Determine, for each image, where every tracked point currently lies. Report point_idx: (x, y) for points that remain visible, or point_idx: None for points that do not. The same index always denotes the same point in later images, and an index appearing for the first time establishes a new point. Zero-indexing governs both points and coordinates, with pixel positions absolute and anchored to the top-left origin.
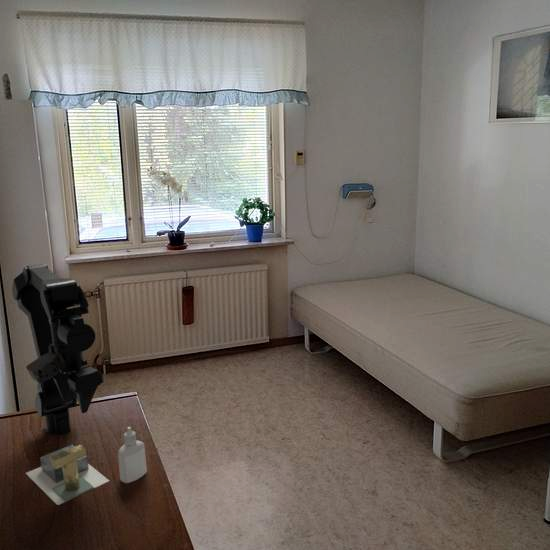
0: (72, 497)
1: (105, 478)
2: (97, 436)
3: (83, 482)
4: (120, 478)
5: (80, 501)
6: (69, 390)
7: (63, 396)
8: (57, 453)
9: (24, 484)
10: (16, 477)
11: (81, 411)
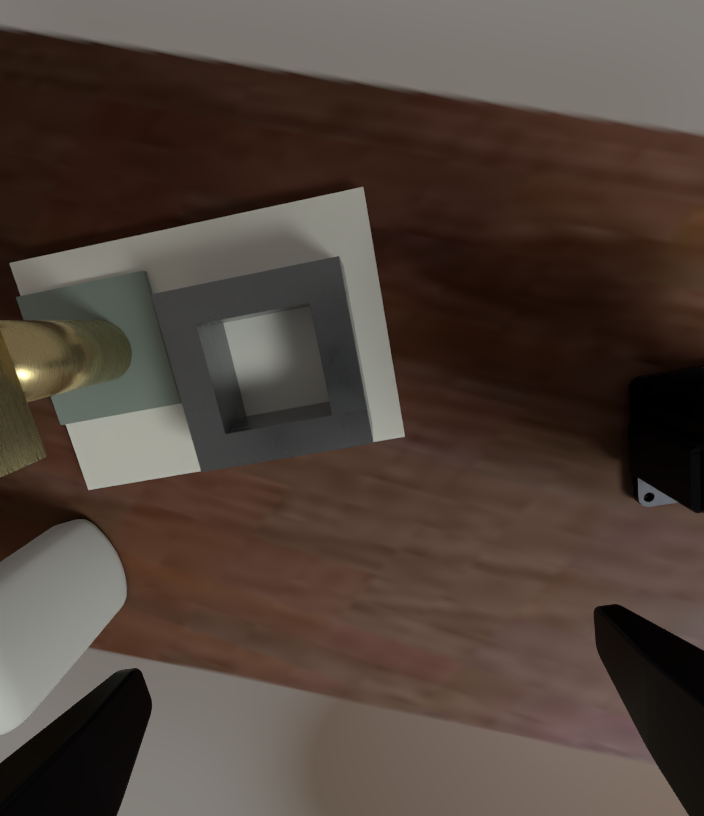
0: None
1: (113, 482)
2: (516, 556)
3: (114, 399)
4: (64, 528)
5: None
6: (672, 786)
7: (624, 649)
8: (322, 351)
9: (304, 174)
10: (392, 150)
11: (116, 680)
